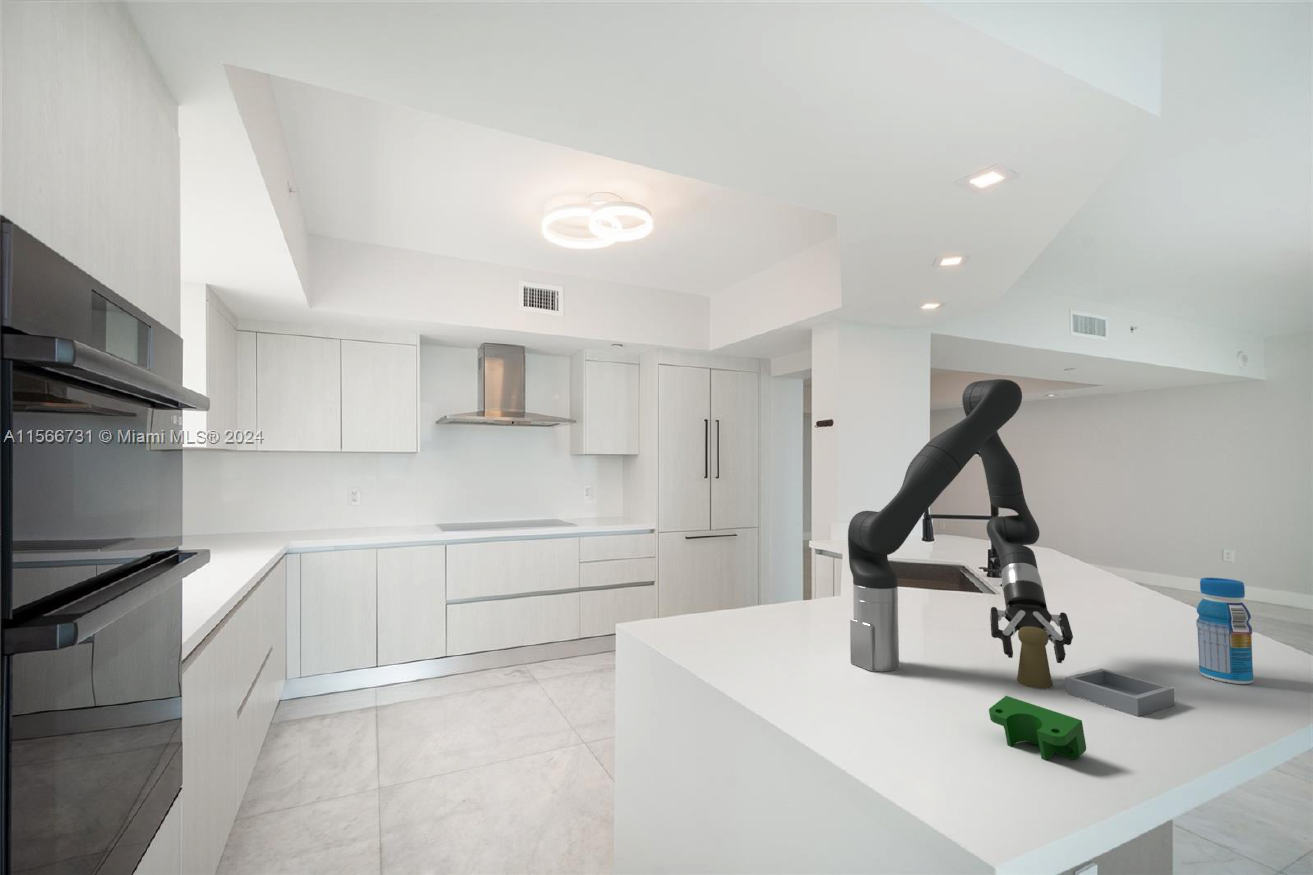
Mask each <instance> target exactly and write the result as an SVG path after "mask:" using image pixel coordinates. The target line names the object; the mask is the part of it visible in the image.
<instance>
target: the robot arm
mask: <svg viewBox="0 0 1313 875" xmlns="http://www.w3.org/2000/svg"><path fill="white" fill-rule="evenodd" d="M961 397H962V401H961V402H962V408H963V412H964V414H965V417H964V419H961V421H959V422H958V423H956V424H954V425H953V426H951V427H949V428H947V429H946V430H944V431H942V432H941V433H940V434H938V435H935V436H934V437H933V438H932V439H930V440H929V441H928V442H927V443H926V444H925V445H924V446H923V447H922V449H920V450H919V452H918V453H917V454H916V455H915V456H914V457H913V459H912V460H911V462H910V463H909V465H908V467H907V469H906V472H905V475H904V479H903V480H902V481H903V482H902V484H901V487H900V489H899V490H898V492H897V494H896V495H895V496H894V497H893V498H892V499H891V500H890V501H889V503H887V505H885V506H884V507H883V508H882V509H881V510H880V511H875V510H874V511H873V510H863V511H862V510H861V511H859V512H857V513H855V515H854V516H853V517H852V518H851V519H850V522H849V525H848V529H847V550H848V561H849V562H848V564H849V569H850V572H851V576H852V582H853V584H852V588H853V589H852V590H853V592H852V594H853V595H852V596H853V599H852V600H853V606H852V607H853V618H851V619H850V620H849V625H850V626H849V630H850V631H849V632H850V634H849V636H850V637H849V640H850V648H849V649H850V663H851V664H852V665H855V666H858V667H860V668H862V669H865V670H868V671H870V672H874V671H876V672H889V671H895V670H898V669H899V668H900V649H899V648H900V646H899V642H900V641H899V601H898V600H899V590H898V589H899V586H898V584H899V583H898V581H899V580H898V574H897V572H896V571H895V570H894V569H893V567H892V566H891V565H890V562H889V557H888V556H889V555H891V554H894V553H896V551H898V550H899V549H900V548H901V547H902V546H903V544H904V543H905V541H906V540H907V539H908V537H909V536H910V534H911V533H912V531H913V530H914V528H915V526H916V525H917V523H918V522H919V521H920V519H921V518H922V516H923V515H924V514H925V513H926V511H927V510H928V509H929V508H930V507H931V505H933V503H934V502H935V501H936V500H937V499H938V497H939V496H940V495H941V494H942V493H943V492H944V490H945V489H946V488H947V487H948V486H949V485H950V484H951V483H952V482H953V481H954V480H955V478H956V477H957V476H958V475H959V474H960V473H961V471H962V470H963V469H964V467H965V466H966V465H967V463H969V461H971V459H972V458H973V457H974V456H975V455H976V453H978V452H979V455H980V458H981V459H980V460H981V462H982V465H983V470H984V474H985V479H986V484H987V491H988V497H989V501H990V503H991V505H992V506H993V507H995V508H998V509H1007V510H1011V511H1013V512H1014V511H1015V513H1017V514H1014V515H1004V516H1002V515H1001V516H994V517H991V518H989V520H988V522H987V524H986V534H987V537H989V540H990V542H991V544H992V545H993V547H994V549H995V551H996V552H997V555H998V557H999V558H998V559H999V562H1000V563H999V564H1000V570H1001V584H1002V586H1001V588H1002V590H1003V591H1002V592H1003V597H1004V605H1005V610H1001V609H998V608H997V607H996V606H992V607H990V612H989V613H990V614H989V620H990V635H991V637H992V638H993V639H997V638H998V639H999V640H1001V641H1002V642H1001V644H1002V651H1003V653H1004V655H1006V656H1007V658H1008V659H1009V658H1010V659H1013V656H1014V649H1013V642H1012V637H1014V636H1015V634H1016V633H1018V631H1019V630H1020V628H1022V627H1026V626H1031V627H1037V628H1041V629H1043V630H1045V631H1046V632H1047V634H1048V637H1049V640H1048V641H1050V642H1051V643H1052V644H1053V650H1054V654H1055V659H1056V663H1057V664H1062V663H1063V662H1064V661H1065V658H1066V655H1067V653H1066V650H1065V646H1066V645H1067V646H1070V645H1072V642H1073V641H1072V640H1073V638H1074V635H1073V632H1072V628H1071V625H1070V621H1069V618H1068V614H1067V613H1065V612H1060V613H1059V614H1051V613H1050V612H1049V610H1048V607H1047V601H1046V597H1045V591H1044V587H1043V582H1042V579H1041V576H1040V572H1039V569H1038V562H1037V560H1036V555H1035V552H1034V550H1032V548H1030V547H1029V546H1030V545H1034V544H1035V543H1037V541H1039V538H1040V534H1041V533H1040V529H1039V526H1038V524H1037V522H1036V520H1035V518H1034V516H1033V515H1032V513H1031V510H1030V508H1029V507H1028V504H1027V502H1026V498H1025V494H1024V491H1023V484H1022V478H1021V472H1020V470H1019V466H1018V465H1017V463H1016V461H1015V459H1014V457H1013V456H1012V455H1011V453H1010V452H1009V450H1008V449H1007V448H1006V446H1005V443H1003V441H1002V438H1001V437H1000V435H999V432H998V431H999V430H1000V429H1001V428H1002V427H1003V426H1004V425H1005V424H1007V423H1008V422H1009V420H1010V419H1012V418H1013V417H1014V416H1015V415H1016V414H1017V412H1018V410H1019V409H1020V407H1021V404H1022V399H1023V392H1022V388H1021V387H1020V385H1019V384H1018V383H1017V382H1015V381H1014V380H1010V379H1003V378H1001V379H1000V378H998V379H988V380H986V379H985V380H978V381H973V382H971V383H970V384H968V385H967V386H966V387H965V389H964V391H963V393H962V396H961ZM1028 545H1029V546H1028ZM1002 618H1005V620H1006V621H1008V622H1009V623H1008V624H1007V625H1006V627H1004V629H1000V628H999V627H1000V626H999V622H1000V621H1001V620H1002ZM1051 622H1054V624H1055V625H1056V626H1057V627H1059V629H1060V631H1061V632H1060V633H1061V634H1060V633H1059V632H1058V631H1057V630H1056V629H1055V626H1053V625H1052V624H1051Z"/></svg>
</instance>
